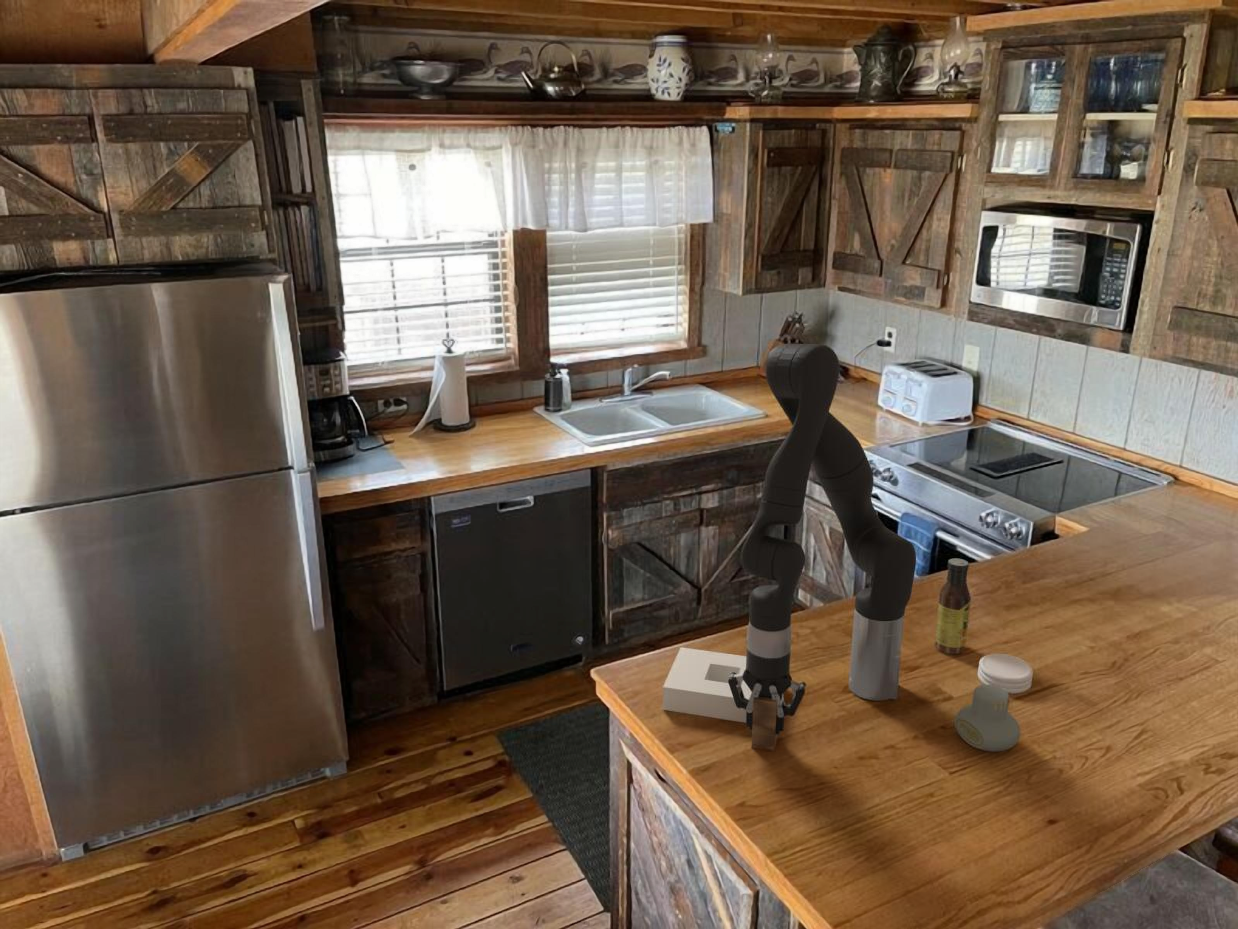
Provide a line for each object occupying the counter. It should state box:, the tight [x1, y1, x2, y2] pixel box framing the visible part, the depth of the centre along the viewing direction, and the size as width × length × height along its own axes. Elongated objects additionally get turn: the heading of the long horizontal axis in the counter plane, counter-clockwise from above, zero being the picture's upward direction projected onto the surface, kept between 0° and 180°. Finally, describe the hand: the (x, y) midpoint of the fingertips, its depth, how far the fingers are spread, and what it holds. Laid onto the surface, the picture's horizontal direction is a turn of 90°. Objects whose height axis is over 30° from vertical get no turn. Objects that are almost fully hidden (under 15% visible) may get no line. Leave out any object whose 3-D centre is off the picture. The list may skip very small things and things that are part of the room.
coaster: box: [977, 653, 1034, 695], centre depth 185 cm, size 10×10×4 cm
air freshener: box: [954, 684, 1021, 753], centre depth 165 cm, size 11×8×10 cm
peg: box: [751, 696, 778, 752], centre depth 165 cm, size 4×4×10 cm
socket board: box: [662, 646, 751, 724], centre depth 180 cm, size 20×15×5 cm
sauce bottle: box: [934, 557, 972, 655], centre depth 194 cm, size 6×6×20 cm
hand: (764, 729), depth 166 cm, fingers closed on peg, 4 cm apart
